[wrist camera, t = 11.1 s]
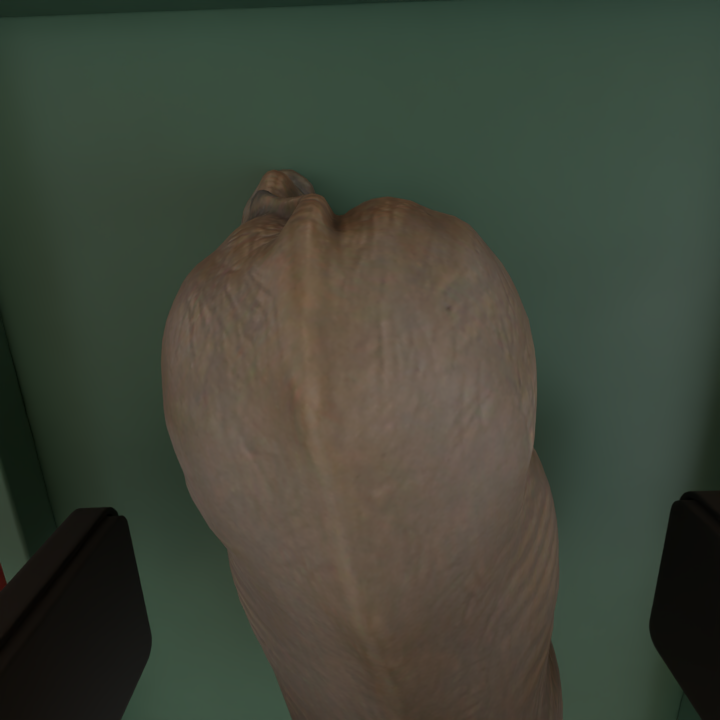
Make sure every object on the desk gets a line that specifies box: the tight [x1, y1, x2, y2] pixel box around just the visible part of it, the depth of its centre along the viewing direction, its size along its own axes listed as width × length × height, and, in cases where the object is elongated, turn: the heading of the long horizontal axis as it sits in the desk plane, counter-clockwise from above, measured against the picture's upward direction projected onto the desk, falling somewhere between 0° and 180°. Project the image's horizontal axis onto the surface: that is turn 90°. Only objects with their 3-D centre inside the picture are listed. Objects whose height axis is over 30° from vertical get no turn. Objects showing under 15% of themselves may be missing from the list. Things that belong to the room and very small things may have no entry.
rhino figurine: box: [161, 169, 563, 720], centre depth 8 cm, size 4×14×6 cm, turn 12°
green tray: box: [0, 0, 720, 720], centre depth 10 cm, size 19×15×2 cm
